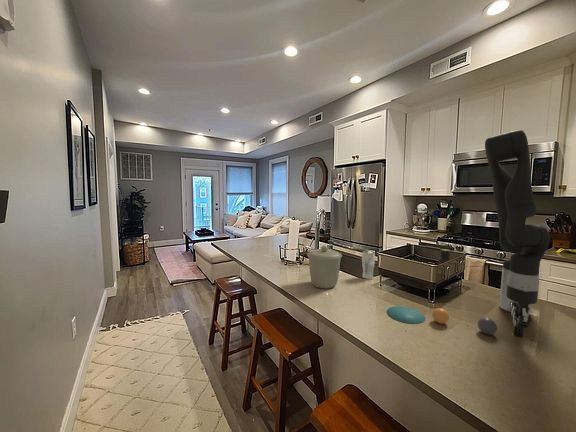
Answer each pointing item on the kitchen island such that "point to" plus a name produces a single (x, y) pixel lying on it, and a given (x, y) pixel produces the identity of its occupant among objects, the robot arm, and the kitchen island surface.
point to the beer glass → (368, 264)
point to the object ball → (440, 315)
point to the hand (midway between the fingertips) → (517, 336)
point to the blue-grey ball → (487, 326)
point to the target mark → (406, 315)
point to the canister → (324, 267)
